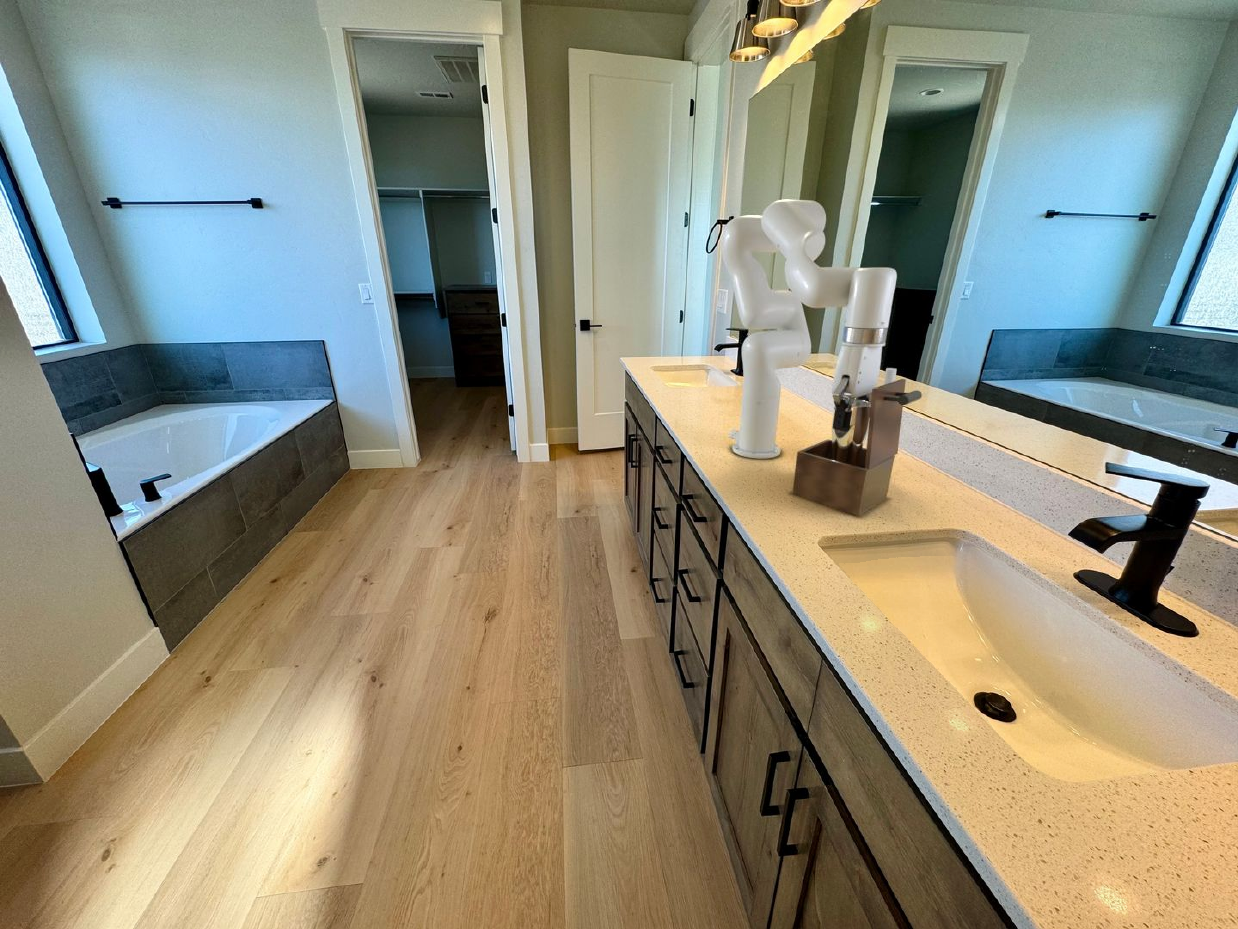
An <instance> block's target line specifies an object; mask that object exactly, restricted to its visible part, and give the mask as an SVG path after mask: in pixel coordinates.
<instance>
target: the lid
mask: <svg viewBox="0 0 1238 929" xmlns="http://www.w3.org/2000/svg"><path fill="white" fill-rule="evenodd" d="M906 381H907V380H906V379H905V378H901V379H898V380H894V382H891V383H888V384H885V385H884V384H882V385H879V386H877V387H876V388H873V389H872V397H871V407H870V418H869V429H868V434H867V435H868V440H867V439H866V442H867V451H866V462H865V468H867V469H870V468H872V467H873V466H875V465H877V464H879V463H881V462H883V461H885V460H887V459H888V458H890V457H892V456H894V455H895V456H896V455H898V454H899V444H900V443H899V442H900V435H901V425H902V416H903V409H904V406H907V405H909V404H912V403H914V402H916V401H918V400H921V398H922V397H923V393H922V392H921V391H920V390H917V389H916V390H913V391H910V392H905V390H906V389H905V388H906Z"/></svg>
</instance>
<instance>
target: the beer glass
mask: <svg viewBox="0 0 1238 929" xmlns="http://www.w3.org/2000/svg"><path fill="white" fill-rule="evenodd" d="M844 400H845V401H846V404H847V403H848V399H844ZM870 407H871V403H870V402H868V401H864V400H858V399H856V398H855V399H854V402H853V404H852V407H851V410H850V412H852V416H851V422H850V429H849V431H847V432H845V431H840V430H836V429H833V420H834V413H835V410H834V409H833V415H832V421H831V440H832V457H831V460H834V461H838V462H842V463H845V464H849V465H853V466H856V467H859V458H860V453H861V451H862V448H864V445H865V444H866V441H867V435H868V429H869V418H870Z"/></svg>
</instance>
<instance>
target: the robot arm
mask: <svg viewBox="0 0 1238 929" xmlns="http://www.w3.org/2000/svg"><path fill="white" fill-rule="evenodd" d="M826 224H827V214H826V211H825V209H824V207H823V205H821V204H820V202H817V201H815V200H810V199H809V200H808V199H807V200H806V199H779V200H776V201H773V202H772V203H770V204H769V205H768V206H766V208H765V209H764V210H763V212H762V215H757V214H756V215H753V214H752V215H741V216H737V217H734V218H733V219H730V220H729V221H728V222H726V225H725V226H724V228H723V230H722V234H721V241H720V242H721V243H720V250H721V257H722V260H723V261H722V262H723V264H724V266H725V269H726V272H727V273H728V276H729V278H730V281H731V284H732V288H733V293H734V298H735V303H736V307H737V312H738V315H739V319H740V322H741V324H742V326H743V327H744V328H745V329H748V330H763V331H757V332H753V333H751V334H749V335H748V336H747V337H746V338H745V339H744V341H743V343H742V345H741V361H742V370H743V372H742V375H743V376H742V378H743V379H742V396H741V409H740V419H739V420H740V421H739V430H737V429H730V433H728V438H729V439H732V440H735V441H734V443H733V444H732V451H733V453H735V454H736V455H738V456H741V457H745V458H749V459H758V460H762V459H772V458H776V457H778V456H780V455H781V451H782V449H781V447H780V446H779V445H778V444H776V441H777V440H776V439H777V430H778V420H779V412H780V403H781V392H782V386H781V382H780V379H779V377H778V375H777V373H776V370H781V369H791V368H798V367H801V366H803V365H805V364H806V363H807V362H808V361H809V359H810V357H811V354H812V340H811V336H810V332H809V328H808V323H807V320H806V315H805V312H804V306H806V307H807V308H808V307H809V308H812V309H828V308H829V309H830V308H846V312H845V318H844V326H843V333H842V334H843V335H842V340H841V347H840V350H839V353H838V357H837V361H836V365H835V369H834V375H833V380H832V385H831V395H832V398H833V404H834V406H833V411H834V410H835V413H834V412H833V415H834V420H833V419H832V420H833V429H836V430H840V431H845V432H847V431H849V429H850V422H851V416H852V412H850V410H851V407H852V404H853V402H854V399H858V400H864V401H868V402H870V403H871V397H872V389H873V388H876V387H878V382H879V378H880V372H881V365H882V364H881V363H882V353H883V347H885V346H886V342H887V335H888V330H889V325H890V319H891V318H890V317H891V313H892V306H893V301H894V296H895V295H894V294H895V289H896V283H897V279H898V274H897V271H896V269H895V268H892V267H882V266H881V267H858V266H822V267H821V266H819V265H818V264H817V263H816V262H814V261H816V259H818V257H819V256H820V255H821V254H822V252H823V250H824V248H825V246H826V236H825V235H826V234H825V233H824V229H825V228H826ZM778 253H779V254H780V253H781V255H782V256H783V257H784V259H785V264H784V277H785V283H786V285H787V287H788V289H789V290H788V289H772V288H771V287H770V285H769V281H768V277H767V273H766V271H765V269H764V267H763V266H762V264H761V263H760V262H759V261H758V260H757V259H756V258H755V257H754V256H753V254H778ZM803 305H804V306H803ZM773 329H775V330H773ZM848 394H850V395H848ZM844 399H848V403H847V404H846V401H845V400H844Z"/></svg>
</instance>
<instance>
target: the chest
mask: <svg viewBox="0 0 1238 929" xmlns="http://www.w3.org/2000/svg"><path fill="white" fill-rule="evenodd" d="M866 451H867V449H866V447H863V448H862V451H861V453H860V458H859V467H856V466H853V465H849V464H845V463H842V462H838V461H834V460H831V457H832V439H828V438H827V439H825V440H822V441H820V442H817V443H815V444H813V445H810V446H808V447H806V448H803V449H801V450H799V451H797V453H796V459H795V460H796V461H795V468H794V475H793V476H794V478H793V485H792V493H791V494H792V495H794V496H798V497H801V498H804V499H807V500H810V501H813V502H815V503H818V504H820V505H824V506H827V507H829V508H832V509H835V510H838V511H841V512H844V513H847V514H850V515H853V516H855V517H860V516H861V515H863V514H864V513H866V512H868V511H869V510H871V509H872V508H874V507H876V506H877V505H879V504H880V503H882V502H883V501H884V500H886V499H887V497H888V493H889V492H888V491H889V488H890V482H891V479H892V478H891V477H892V473H893V467H894V463H895V457H896V455H894V456H892V457H890V458H888V459H887V460H885V461H883V462H881V463H879V464H877V465H875V466H873V467H872V468H870V469H867V468H865V462H866Z"/></svg>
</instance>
